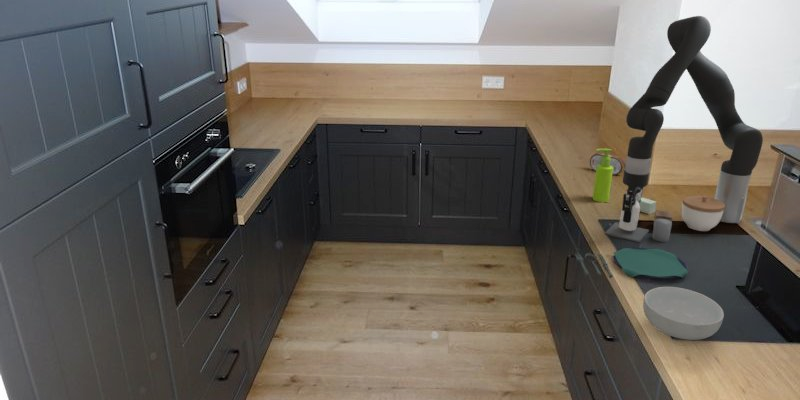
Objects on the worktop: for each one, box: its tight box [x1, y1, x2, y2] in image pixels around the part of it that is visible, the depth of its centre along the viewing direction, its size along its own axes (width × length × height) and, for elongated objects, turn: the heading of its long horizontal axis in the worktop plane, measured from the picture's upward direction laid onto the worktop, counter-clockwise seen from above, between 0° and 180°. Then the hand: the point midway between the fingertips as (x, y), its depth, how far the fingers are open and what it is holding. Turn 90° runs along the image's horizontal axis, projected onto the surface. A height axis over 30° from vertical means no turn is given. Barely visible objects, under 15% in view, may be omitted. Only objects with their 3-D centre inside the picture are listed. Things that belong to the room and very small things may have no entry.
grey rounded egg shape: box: [651, 219, 673, 243], centre depth 184 cm, size 5×5×6 cm
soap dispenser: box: [592, 147, 613, 203], centre depth 215 cm, size 6×7×20 cm
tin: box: [589, 151, 625, 176], centre depth 248 cm, size 15×3×8 cm, turn 47°
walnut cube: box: [653, 209, 673, 224], centre depth 193 cm, size 5×5×5 cm
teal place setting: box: [575, 247, 689, 280], centre depth 166 cm, size 20×30×2 cm, turn 84°
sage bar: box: [639, 196, 658, 215], centre depth 208 cm, size 8×4×4 cm, turn 38°
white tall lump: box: [618, 201, 641, 231], centre depth 186 cm, size 6×12×6 cm
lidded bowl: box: [681, 195, 725, 232], centre depth 192 cm, size 13×13×11 cm
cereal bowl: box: [642, 286, 725, 341], centre depth 134 cm, size 17×17×7 cm
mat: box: [604, 221, 650, 243], centre depth 189 cm, size 11×11×1 cm
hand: (629, 218), depth 187 cm, fingers closed on white tall lump, 6 cm apart
